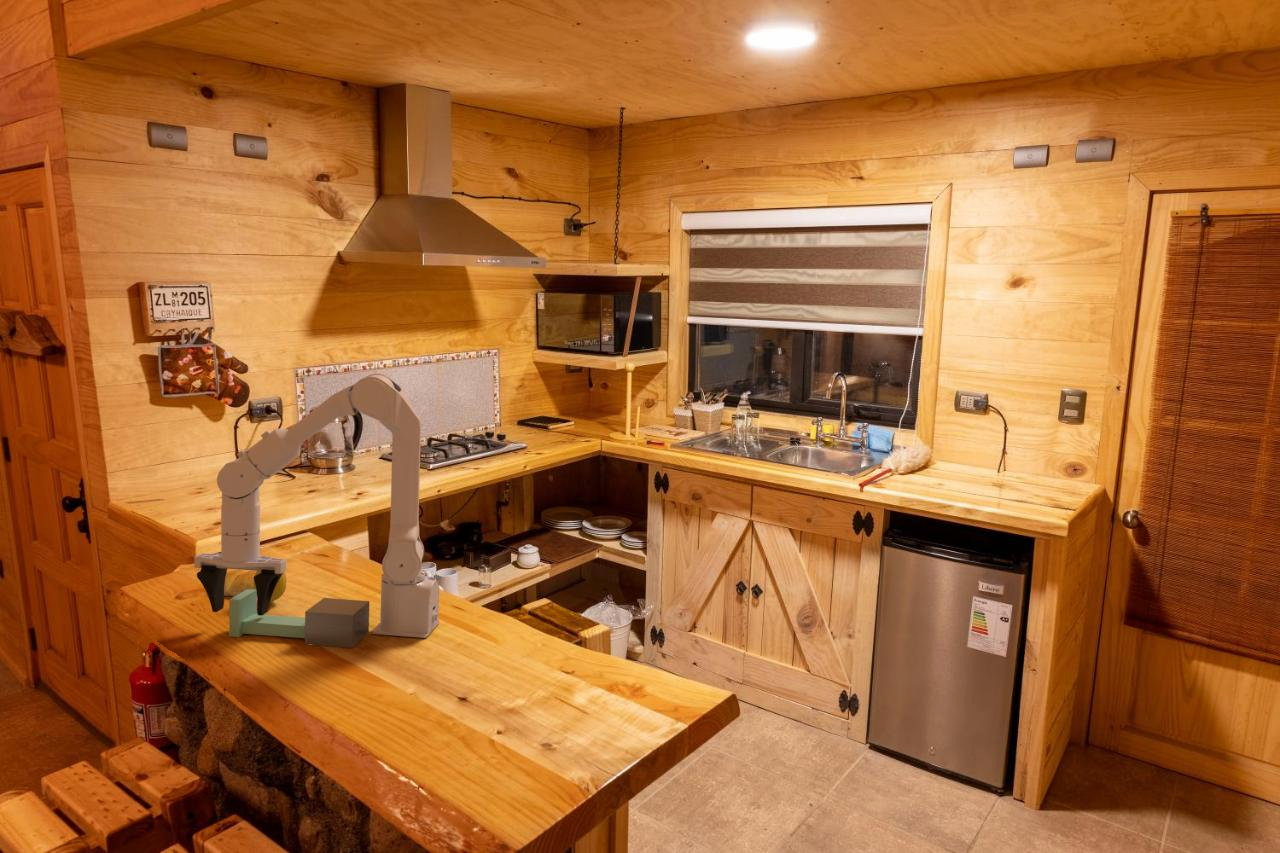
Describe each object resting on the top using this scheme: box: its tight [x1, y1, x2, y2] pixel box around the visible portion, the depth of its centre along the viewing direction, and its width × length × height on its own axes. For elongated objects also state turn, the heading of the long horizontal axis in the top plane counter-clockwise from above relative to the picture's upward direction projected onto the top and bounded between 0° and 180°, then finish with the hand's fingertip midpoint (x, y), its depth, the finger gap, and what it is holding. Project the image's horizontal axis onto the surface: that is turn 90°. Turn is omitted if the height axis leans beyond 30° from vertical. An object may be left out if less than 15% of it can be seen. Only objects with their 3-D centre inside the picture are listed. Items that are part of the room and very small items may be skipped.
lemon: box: [253, 571, 287, 605], centre depth 148 cm, size 6×6×8 cm
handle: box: [228, 589, 305, 639], centre depth 135 cm, size 14×6×6 cm, turn 87°
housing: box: [304, 597, 370, 649], centre depth 134 cm, size 8×7×6 cm
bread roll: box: [224, 569, 256, 598], centre depth 155 cm, size 8×9×4 cm
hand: (240, 611), depth 135 cm, fingers open, 7 cm apart
